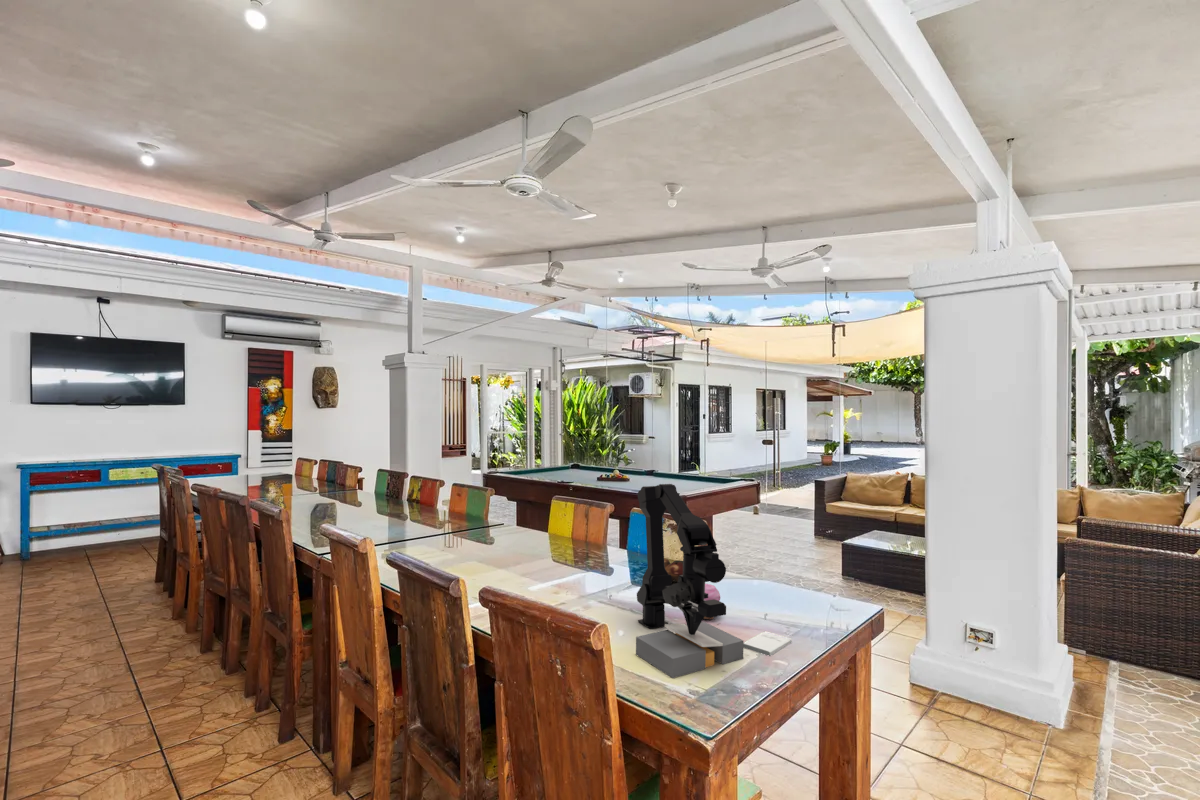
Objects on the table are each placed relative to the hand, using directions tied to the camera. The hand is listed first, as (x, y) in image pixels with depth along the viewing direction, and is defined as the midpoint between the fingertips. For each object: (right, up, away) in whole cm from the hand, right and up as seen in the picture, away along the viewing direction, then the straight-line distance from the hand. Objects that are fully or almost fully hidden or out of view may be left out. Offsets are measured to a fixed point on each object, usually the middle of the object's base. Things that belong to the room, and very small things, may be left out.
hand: (692, 634), depth 155 cm
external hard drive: (+21, -7, +9) cm, 24 cm away
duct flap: (0, -1, +1) cm, 1 cm away
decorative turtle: (+5, -6, +63) cm, 63 cm away
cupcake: (+8, -6, +28) cm, 30 cm away
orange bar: (-2, -4, 0) cm, 4 cm away
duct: (0, -6, 0) cm, 6 cm away
